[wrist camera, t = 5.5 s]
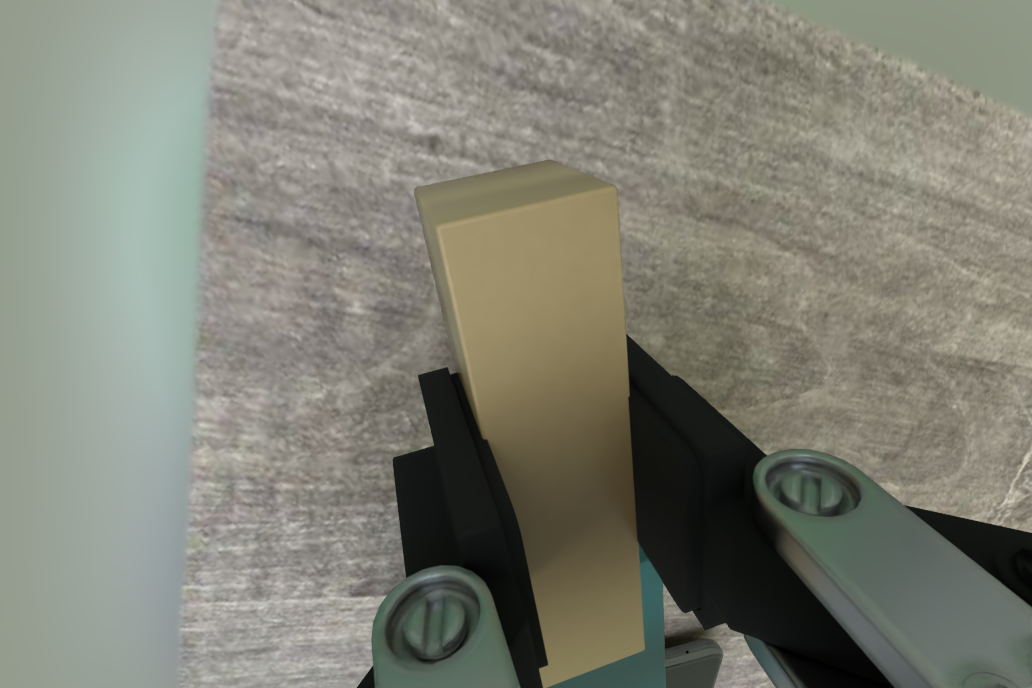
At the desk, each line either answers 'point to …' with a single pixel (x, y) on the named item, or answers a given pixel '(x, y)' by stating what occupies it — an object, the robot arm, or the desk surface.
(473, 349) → the spatula
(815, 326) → the desk surface
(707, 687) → the smartphone
